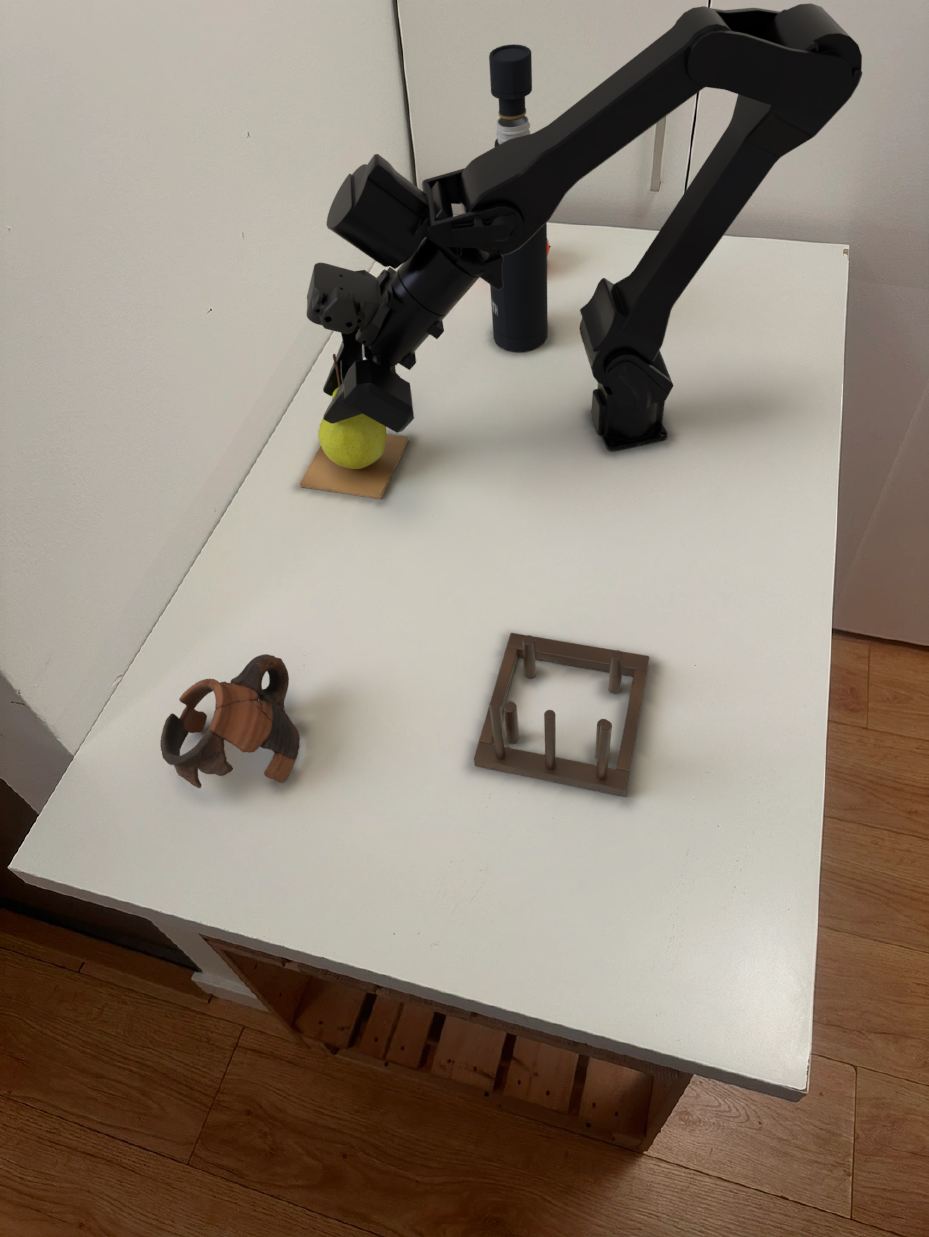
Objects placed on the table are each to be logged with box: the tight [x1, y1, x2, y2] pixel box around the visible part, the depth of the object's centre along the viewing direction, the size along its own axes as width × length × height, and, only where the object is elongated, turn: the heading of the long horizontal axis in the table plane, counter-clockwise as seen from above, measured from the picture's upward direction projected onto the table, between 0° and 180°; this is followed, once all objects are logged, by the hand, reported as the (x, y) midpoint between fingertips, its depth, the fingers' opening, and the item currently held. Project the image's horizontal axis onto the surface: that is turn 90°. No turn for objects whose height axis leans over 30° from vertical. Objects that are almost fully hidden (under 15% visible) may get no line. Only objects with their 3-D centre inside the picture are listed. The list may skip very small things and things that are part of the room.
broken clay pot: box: [160, 653, 301, 789], centre depth 70 cm, size 12×10×8 cm
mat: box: [299, 433, 410, 500], centre depth 91 cm, size 9×9×1 cm
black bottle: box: [488, 44, 549, 353], centre depth 90 cm, size 6×6×30 cm
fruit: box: [318, 353, 388, 469], centre depth 86 cm, size 7×7×12 cm
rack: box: [473, 632, 650, 798], centre depth 68 cm, size 13×12×9 cm
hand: (327, 406), depth 85 cm, fingers open, 4 cm apart
